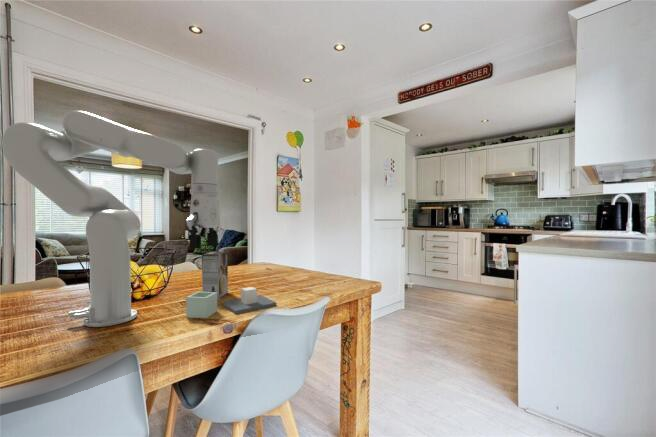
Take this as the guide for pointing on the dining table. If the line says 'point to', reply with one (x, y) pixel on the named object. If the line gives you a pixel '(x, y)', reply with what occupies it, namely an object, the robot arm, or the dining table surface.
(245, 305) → the base
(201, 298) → the square sleeve
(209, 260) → the coffee box
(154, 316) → the dining table surface
